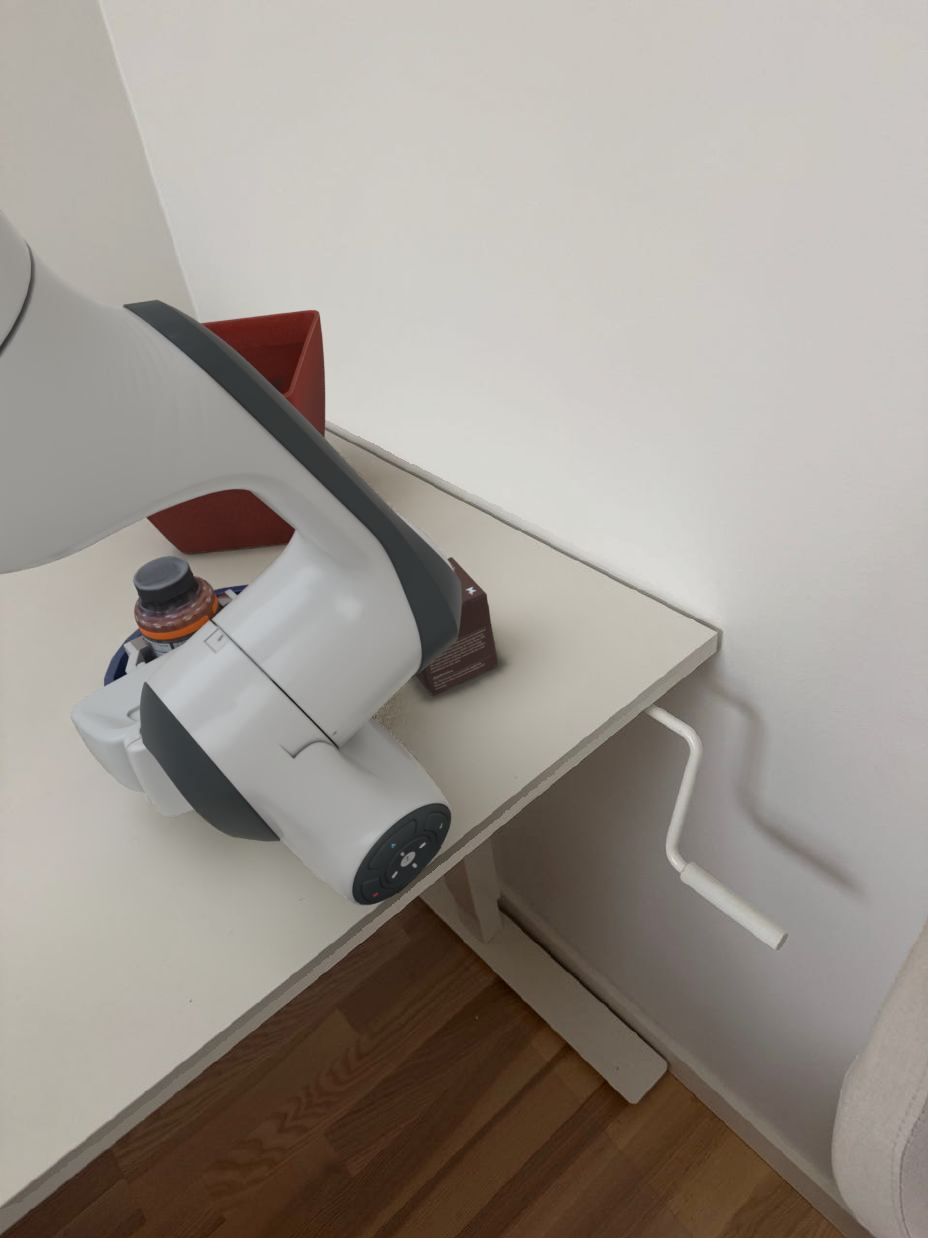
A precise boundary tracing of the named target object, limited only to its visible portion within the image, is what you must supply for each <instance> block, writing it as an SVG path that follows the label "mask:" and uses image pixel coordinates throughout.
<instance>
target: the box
mask: <svg viewBox="0 0 928 1238" xmlns="http://www.w3.org/2000/svg"><path fill="white" fill-rule="evenodd" d="M447 559H448V561H449V562H450V564H451V566H452V568H453V570H454V572H455V574H456V575H457V576H458V578H459V580H460V582H461V593H462V606H461V618H460V627H459V633H458V638H457V641H456V642H455V643H454V644H453V645H451V646H450V647H449V648H448V649H447V650H446V651H444V652H443V653H442V654H441V655H440V656H439V657H437V658H436V659H435V660H434V661H433V662H431V663H430V664H429V665H428V666H427V667H426V668H424V669H423V670H422V671H421V672H420V673H419V674H418V675H416V676H415V677H416V678H417V679H419V681H420V683H421V684H422V686H423V687H424V688H425V690H426V691H427V692H428V694H430V695H431V696H435V695H436V694H438V693H440V692H443V691H445V690H447V689H449V688H451V687H453V686H455V685H458V684H460V683H462V682H465V681H466V680H469V679H471V678H473V677H475V676H478V675H480V674H482V673H484V672H486V671H489V670H491V669H493V668H495V667H496V668H497V666H499V662H498V655H497V649H496V643H495V638H494V637H495V636H494V632H493V627H492V626H493V625H492V621H491V612H490V605H489V602H488V601H489V600H488V594H487V593H486V592H485V590H484V589H483V588H482V587H481V586H480V585H478V583H477V582H476V581H475V580H474V579H473V578H472V577H471V576H470V575H469V573H468V572H467V571H466V570H465V569H464V568H463V567H462V566H461V565H460V564H459V563H458V562H457V560H456V559H455V558H454V557H452V556H451V557H448V558H447Z"/></svg>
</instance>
